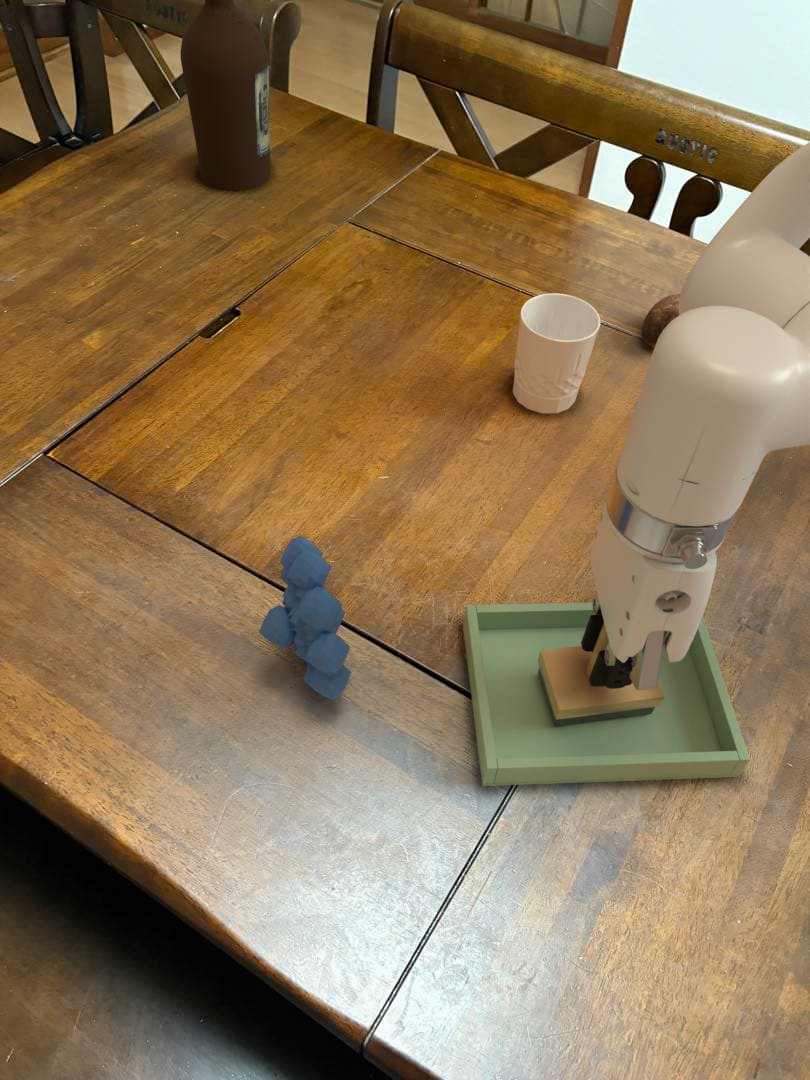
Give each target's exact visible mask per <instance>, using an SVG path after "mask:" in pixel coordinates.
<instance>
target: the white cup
mask: <svg viewBox="0 0 810 1080" xmlns="http://www.w3.org/2000/svg"><path fill="white" fill-rule="evenodd" d="M600 328H601V317H600V314H599V312H598V311H597V310H596V309H595V307H593V306H592V305H591V304H590V303H589V302H587V301H586V300H584V299H581V298H579V297H578V296H573V295H571V294H565V293H555V292H550V293H542V294H538V295H535V296H533V297H531V298H529V299H528V300H527V301H525V302H524V303H523V305H522V307H521V308H520V313H519V322H518V331H517V339H516V348H515V354H514V355H515V356H514V367H513V369H514V378H513V386H512V394H513V396H514V397H515V399H516V401H517V403H519V404H520V405H522V406H523V407H524V408H526V409H527V410H530V411H532V412H536V413H540V414H558V413H561V412H565V411H567V410H569V409H570V408H571V407H572V406H573V405H574V403H575V402H576V400H577V396H578V393H579V390H580V386H581V384H582V382H583V380H584V377H585V374H586V370H587V368H588V365H589V363H590V360H591V356H592V353H593V350H594V346H595V343H596V340H597V337H598V334H599V331H600Z"/></svg>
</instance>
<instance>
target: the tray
mask: <svg viewBox="0 0 810 1080" xmlns="http://www.w3.org/2000/svg"><path fill="white" fill-rule="evenodd" d="M592 603H593V601H591V602H550V603H546V602H544V603H503V604H502V603H498V604H496V603H494V604H493V603H492V604H466V605H465V609H464V615H463V621H462V630H463V631H462V632H463V640H464V647H465V656H466V665H467V672H468V681H469V688H470V696H471V697H470V698H471V704H472V712H473V721H474V728H475V737H476V745H477V753H478V761H479V769H480V778H481V786H482V787H496V786H522V785H524V786H525V785H526V786H527V785H548V784H549V785H550V784H551V785H553V784H578V783H579V784H581V783H605V782H606V783H607V782H634V781H635V782H636V781H637V782H638V781H661V780H662V781H663V780H689V779H717V778H738V777H739V776H740V775H741V773H742V771H743V770H744V769H745V768H746V766H747V765H748V763H749V762H750V761H751V758H750V755H749V752H748V749H747V745H746V742H745V740H744V737H743V733H742V731H741V728H740V725H739V721H738V719H737V716H736V712H735V709H734V707H733V704H732V701H731V698H730V695H729V691H728V689H727V685H726V683H725V679H724V676H723V673H722V671H721V668H720V665H719V662H718V658H717V655H716V652H715V649H714V647H713V643H712V640H711V637H710V634H709V631H708V628H707V625H706V622H705V619H704V615H703V616H702V619H701V621H700V624H699V626H698V629H697V631H696V634H695V636H694V638H693V640H692V643H691V645H690V647H689V649H688V651H687V653H686V655H685V656H684V658H683V659H682V660H681V661H679V662H669V660H668V657H667V653H666V650H665V647H664V644H663V650H662V656H661V663H660V669H659V675H658V681H659V684H660V686H661V689H662V691H663V694H664V696H665V697H664V699H663V701H662V703H661V705H660V706H658V707H655V708H654V710H653V712H652V714H649V715H641V716H633V717H626V718H618V719H610V720H603V721H595V722H588V723H580V724H572V725H565V726H557V727H554V725H553V721H552V718H551V715H550V711H549V708H548V705H547V702H546V698H545V695H544V692H543V689H542V685H541V682H540V679H539V676H538V670H539V663H538V658H539V654H540V651H541V650H549V649H557V648H566V647H574V646H582V645H581V641H582V638H583V636H584V633H585V630H586V627H587V624H588V621H589V618H590V616H591V615H597V614H594V612H593V607H592Z"/></svg>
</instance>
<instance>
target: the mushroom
mask: <svg viewBox="0 0 810 1080" xmlns="http://www.w3.org/2000/svg"><path fill="white" fill-rule="evenodd" d="M680 296H681V293H674V294H671V295H668V296H666V297H662V298H661V299H660V300H659V301H657V302H656V303H654V305H653V306H652V307H651V308H650V309H649V310H648V312H647V314H646V316H645V318H644V320H643V325H642V331H641V336H642V337H641V338H642V339H643V341H644V342H645V343H646V344H647V345H648V346H650V347H651V348H653V349H654V348H655V346H656V343H657V340H658V338H659V336H660V334H661V333H662V331H663V330H664V329H665V327H666V326H667V325H668V324H669V323H670V322H671V321H672V320H673V319H675V318H676V317H678V316H679V315H680V314H679V302H680Z"/></svg>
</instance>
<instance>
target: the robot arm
mask: <svg viewBox="0 0 810 1080" xmlns="http://www.w3.org/2000/svg"><path fill="white" fill-rule="evenodd" d="M809 239H810V141H809V142H807V143H806V144H804V145H802V146H801V147H800V148H798V149H796V150H795V151H794V152H792V153H791V154H789V156H787V157H785V158H784V159H783V161H781V162H780V163H778V164H776V166H775V167H774V168H773V169H772V170H771V171H770V172H769V173H768V174H767V175H766V176H765V177H764V178H763V179H762V180H761V181H760V182H759V183H758V184H757V186H755V188H754V189H753V190H752V191H751V192H750V194H749V195H748V196H747V197H746V198H745V200H744V201H743V202H742V203H741V204H740V205H739V206H738V208H737V209H736V210H735V211H734V212H733V214H732V215H731V216H730V217H729V218H728V220H726V222H725V223H724V224H723V225H722V226H721V228H720V229H719V230H718V231H717V233H716V234H715V235H714V236H713V237H712V239H711V240H710V242H709V243H708V244H707V246H705V249H703V251H702V252H701V253H700V255H699V256H698V257H697V259H696V261H695V262H694V264H693V266H692V268H691V269H690V271H689V272H688V274H687V276H686V279H685V281H684V283H683V286H682V288H681V292H680V294H681V296H680V302H679V314H680V315H679V316H678V317H676V318H675V319H673V320H672V321H671V322H670V323H669V324H668V325H667V326H666V327H665V329H664V330H663V331H662V333H661V334H660V336H659V338H658V340H657V343H656V346H655V348H653V350H652V353H651V357H650V359H649V362H648V366H647V368H646V372H645V375H644V378H643V381H642V385H641V388H640V391H639V394H638V396H637V400H636V404H635V405H634V410H633V413H632V416H631V419H630V423H629V425H628V429H627V433H626V434H625V438H624V441H623V445H622V448H621V451H620V453H619V457H618V460H617V462H616V466H615V469H614V472H613V475H612V478H611V481H610V485H609V487H608V491H607V495H606V496H605V500H604V506H603V507H604V508H603V510H602V512H601V515H600V518H599V520H598V524H597V527H596V529H595V532H594V535H593V538H592V543H591V547H590V552H589V553H590V554H589V555H590V556H589V559H590V560H589V561H590V568H591V573H592V577H593V582H594V586H595V593H594V595H593V598H592V602H593V603H592V607H593V612H594V614H597V615H591V616H590V618H589V621H588V624H587V627H586V630H585V633H584V636H583V638H582V641H581V645H582V649H583V650H585V651H586V652H593V650H594V647H595V644H596V642H597V639H598V636H599V634H600V631H601V628H602V626H603V623H604V624H605V627H606V631H607V635H608V639H609V641H608V644H607V647H606V650H602V651H599V654H598V656H597V659H596V661H595V664H594V667H593V669H592V672H591V674H590V677H589V681H590V685H591V686H593V687H598V686H606V687H607V688H609V689H618V688H623V687H625V686H628V685H631V684H632V683H633V685H634V686H635V688H636V690H655V689H656V687H657V681H658V675H659V669H660V663H661V656H662V650H663V644H664V647H665V650H666V653H667V657H668V660H669V662H679V661H681V660H682V659H683V658H684V656H685V655H686V653H687V651H688V649H689V647H690V645H691V643H692V640H693V638H694V636H695V634H696V631H697V629H698V626H699V624H700V621H701V619H702V616H703V617H704V614H705V610H706V607H707V605H708V601H709V598H710V595H711V592H712V588H713V584H714V579H715V575H716V569H717V563H718V558H717V553H716V551H718V550H719V548H720V547H721V545H722V544H723V542H724V540H725V538H726V536H727V534H728V532H729V530H730V528H731V526H732V524H733V521H734V520H735V518H736V515H737V514H738V512H739V510H740V508H741V506H742V503H743V501H744V500H745V497H746V496H747V493H748V491H749V490H750V488H751V485H752V483H753V481H754V479H755V476H756V475H757V473H758V471H759V469H760V467H761V464H762V463H763V461H764V458H765V457H766V456H767V455H768V454H769V453H771V452H773V451H777V450H778V451H779V450H784V449H790V448H796V447H804V446H810V255H808V254H807V253H805V252H804V251H803V250H801V248H802V246H803V245H805V243H806V242H808V240H809Z"/></svg>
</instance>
